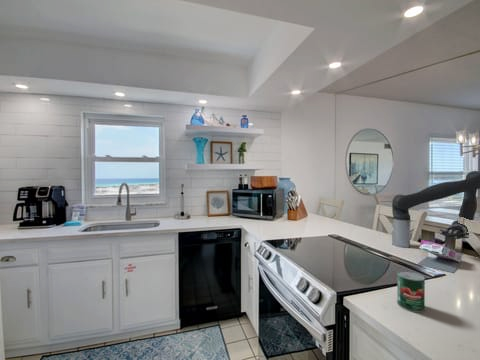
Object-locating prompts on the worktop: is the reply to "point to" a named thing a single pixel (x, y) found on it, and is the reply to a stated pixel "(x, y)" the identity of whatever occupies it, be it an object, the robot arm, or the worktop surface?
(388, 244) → the worktop surface
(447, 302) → the worktop surface
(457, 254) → the candy bar box
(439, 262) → the rubber mat
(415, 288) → the canned tomato
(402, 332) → the worktop surface
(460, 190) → the robot arm
